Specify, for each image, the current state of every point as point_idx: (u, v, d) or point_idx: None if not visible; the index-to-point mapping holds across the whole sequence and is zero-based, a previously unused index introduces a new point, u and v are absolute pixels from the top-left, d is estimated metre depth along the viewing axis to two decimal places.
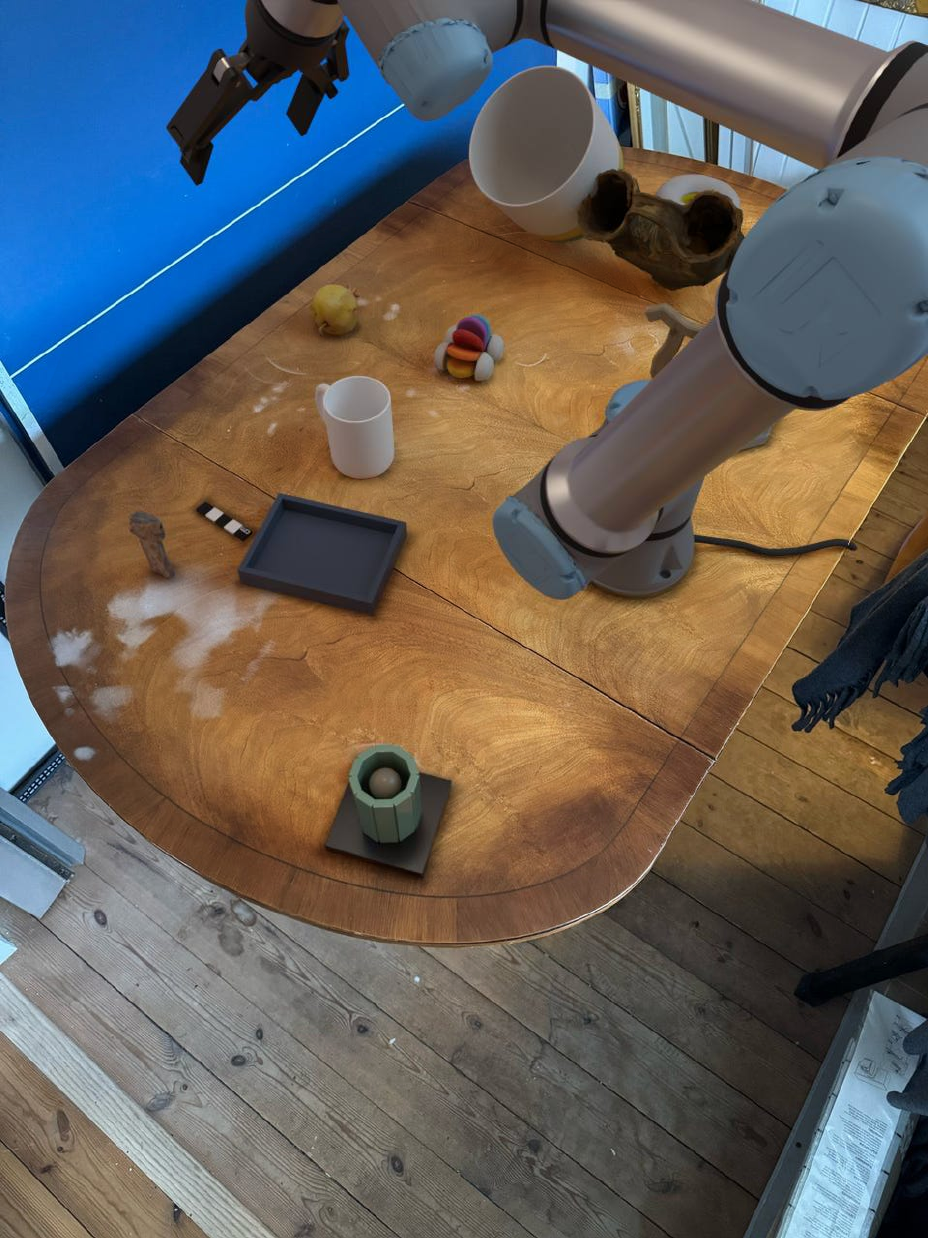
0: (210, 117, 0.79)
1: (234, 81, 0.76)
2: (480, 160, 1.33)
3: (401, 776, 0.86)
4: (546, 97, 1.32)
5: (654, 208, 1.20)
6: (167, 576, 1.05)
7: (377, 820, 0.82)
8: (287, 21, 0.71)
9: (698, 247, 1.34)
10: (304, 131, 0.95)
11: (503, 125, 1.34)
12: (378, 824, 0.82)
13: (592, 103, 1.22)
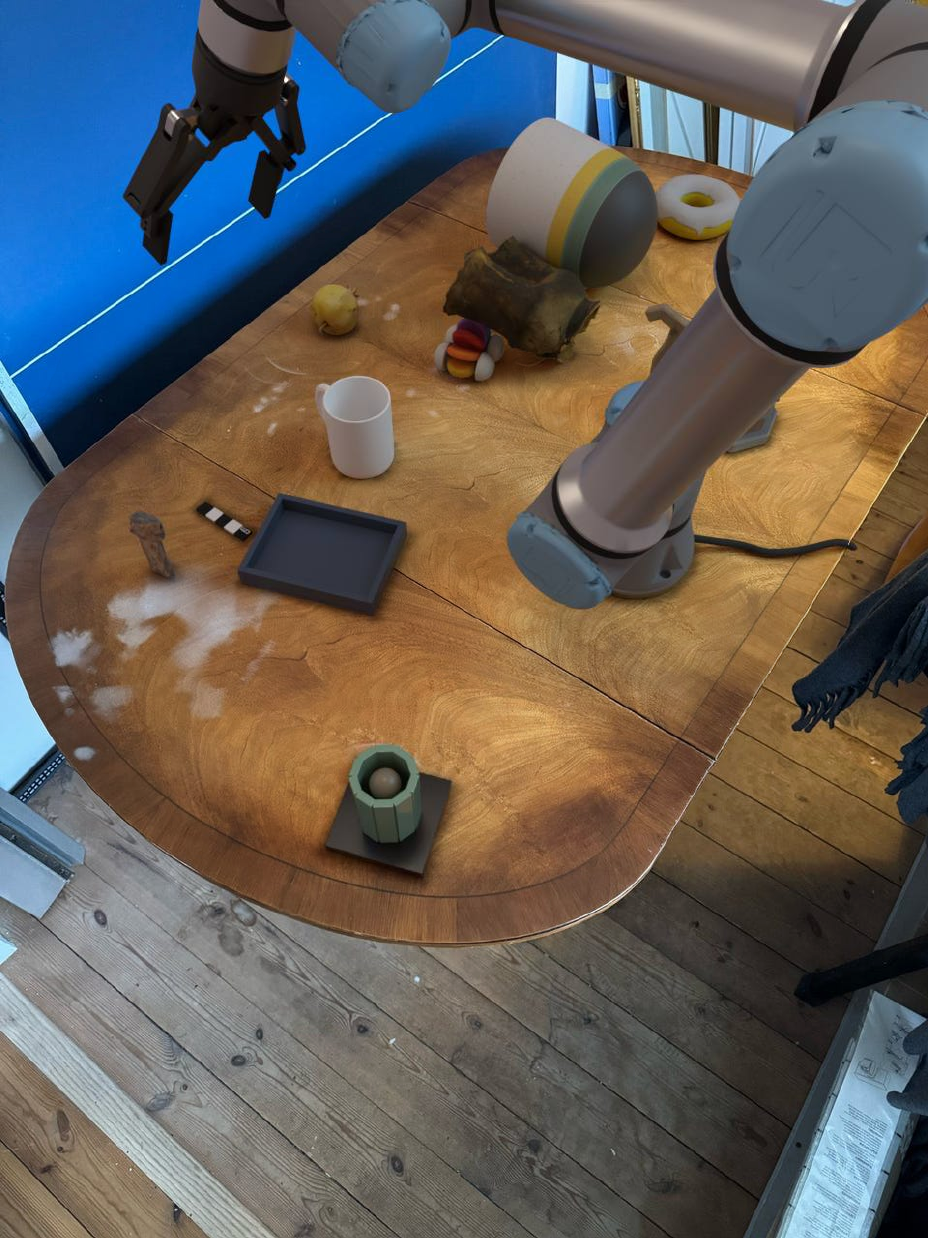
0: (165, 176, 0.78)
1: (186, 131, 0.75)
2: None
3: (401, 776, 0.86)
4: None
5: None
6: (167, 576, 1.05)
7: (377, 820, 0.82)
8: (232, 57, 0.71)
9: None
10: (267, 213, 0.94)
11: None
12: (378, 824, 0.82)
13: (501, 163, 1.27)
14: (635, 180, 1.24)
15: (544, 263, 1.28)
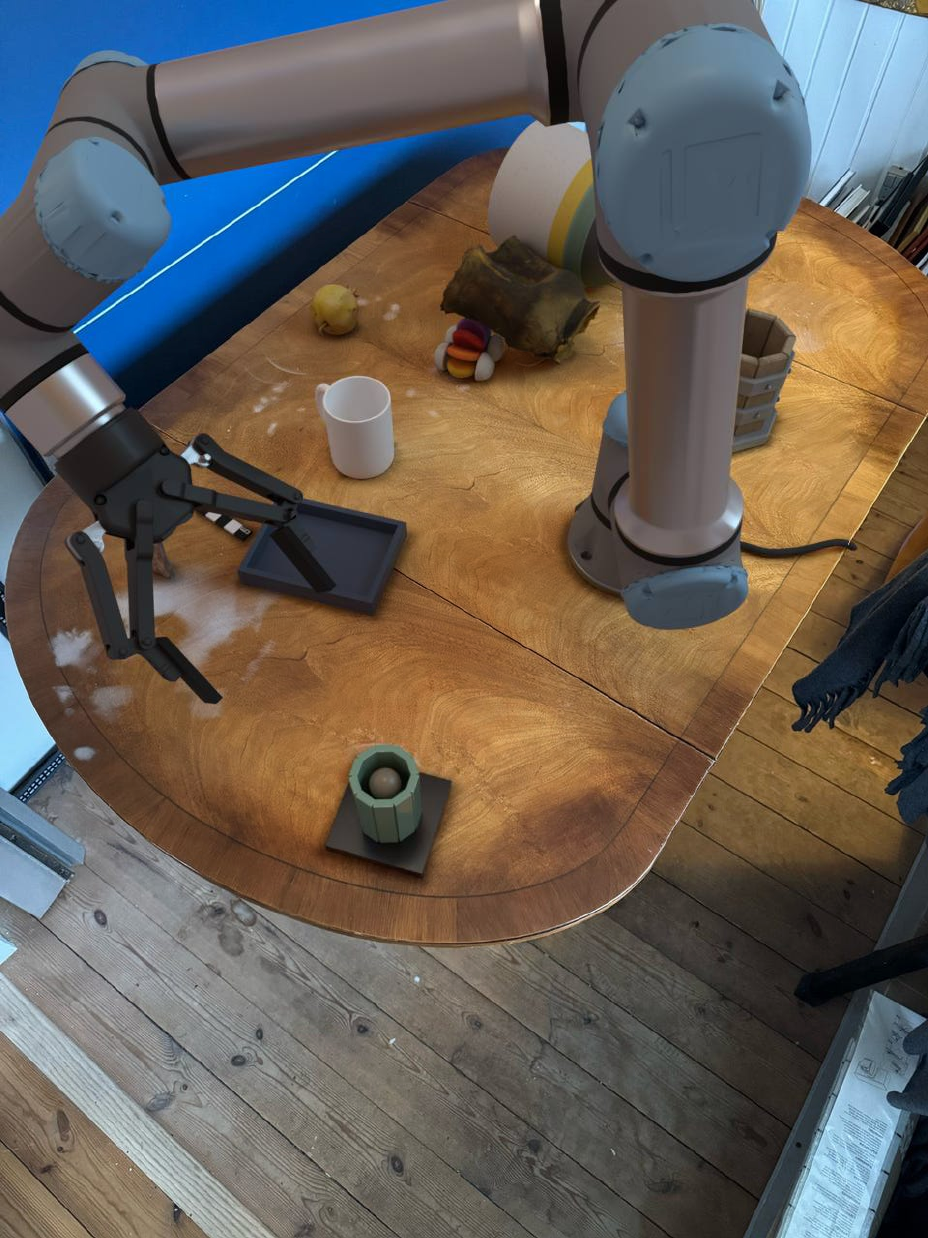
0: (106, 599, 0.65)
1: (79, 539, 0.64)
2: None
3: (401, 776, 0.86)
4: None
5: None
6: (167, 576, 1.05)
7: (377, 820, 0.82)
8: (48, 436, 0.63)
9: None
10: (326, 582, 0.76)
11: None
12: (378, 824, 0.82)
13: (504, 159, 1.27)
14: None
15: (545, 263, 1.28)
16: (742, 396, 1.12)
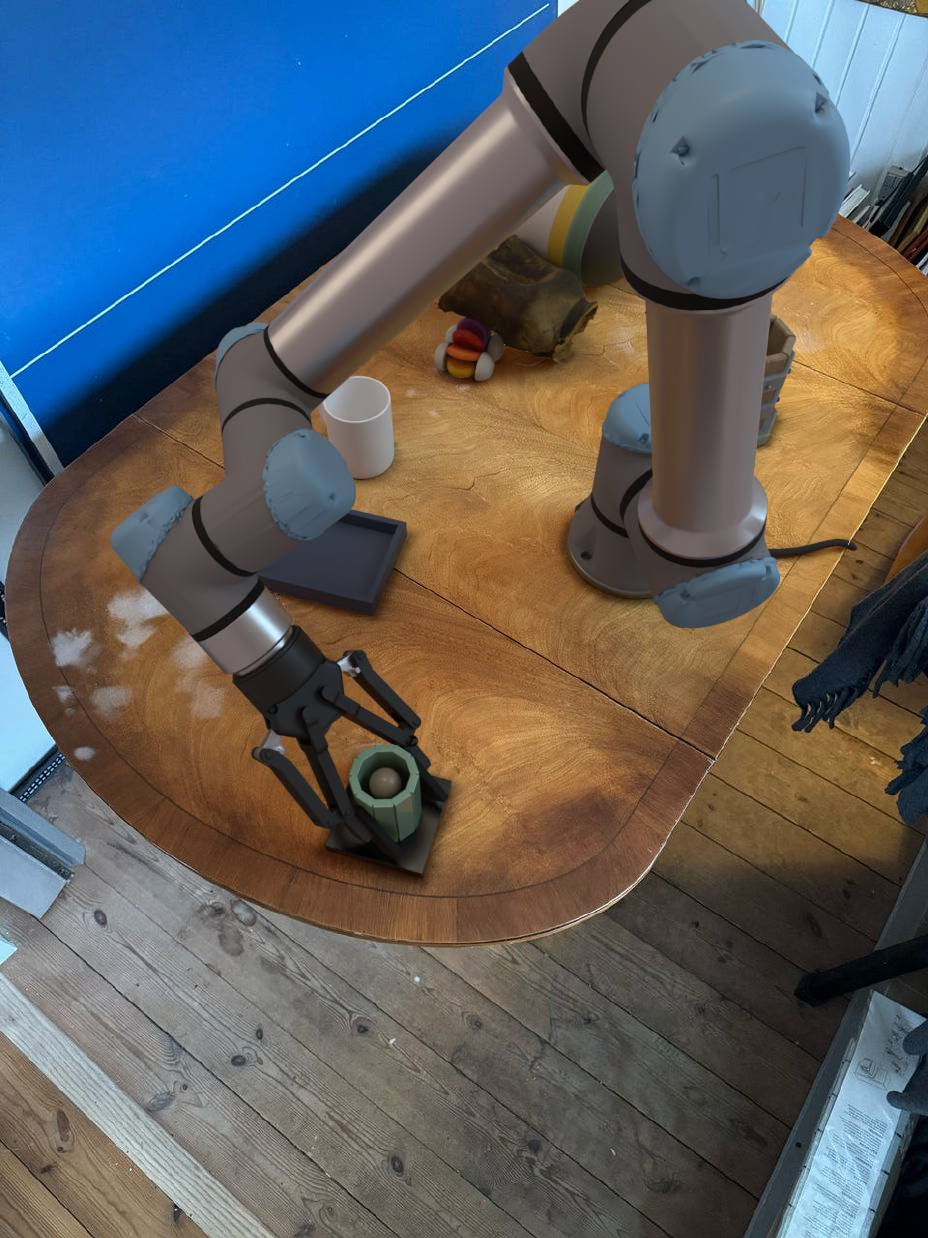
0: (304, 790, 0.77)
1: (268, 756, 0.76)
2: None
3: (401, 776, 0.86)
4: None
5: None
6: None
7: (377, 820, 0.82)
8: (235, 664, 0.74)
9: None
10: (441, 795, 0.86)
11: None
12: None
13: None
14: None
15: (545, 262, 1.28)
16: None
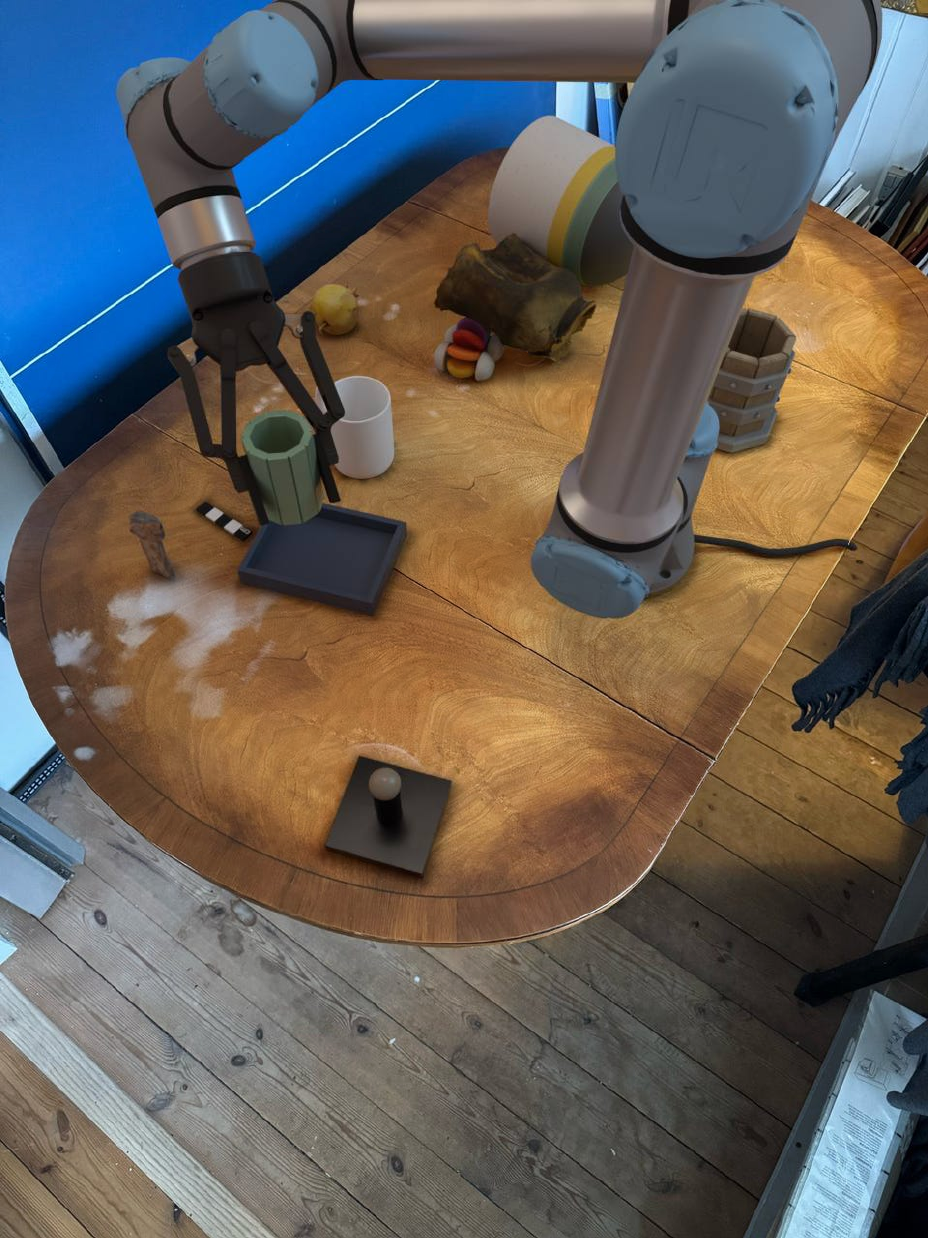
0: (194, 404, 0.79)
1: (173, 353, 0.77)
2: None
3: None
4: None
5: None
6: (167, 576, 1.05)
7: (256, 477, 0.81)
8: (175, 249, 0.76)
9: None
10: (332, 494, 0.83)
11: None
12: (258, 484, 0.82)
13: (505, 156, 1.27)
14: None
15: (543, 261, 1.28)
16: (742, 396, 1.12)
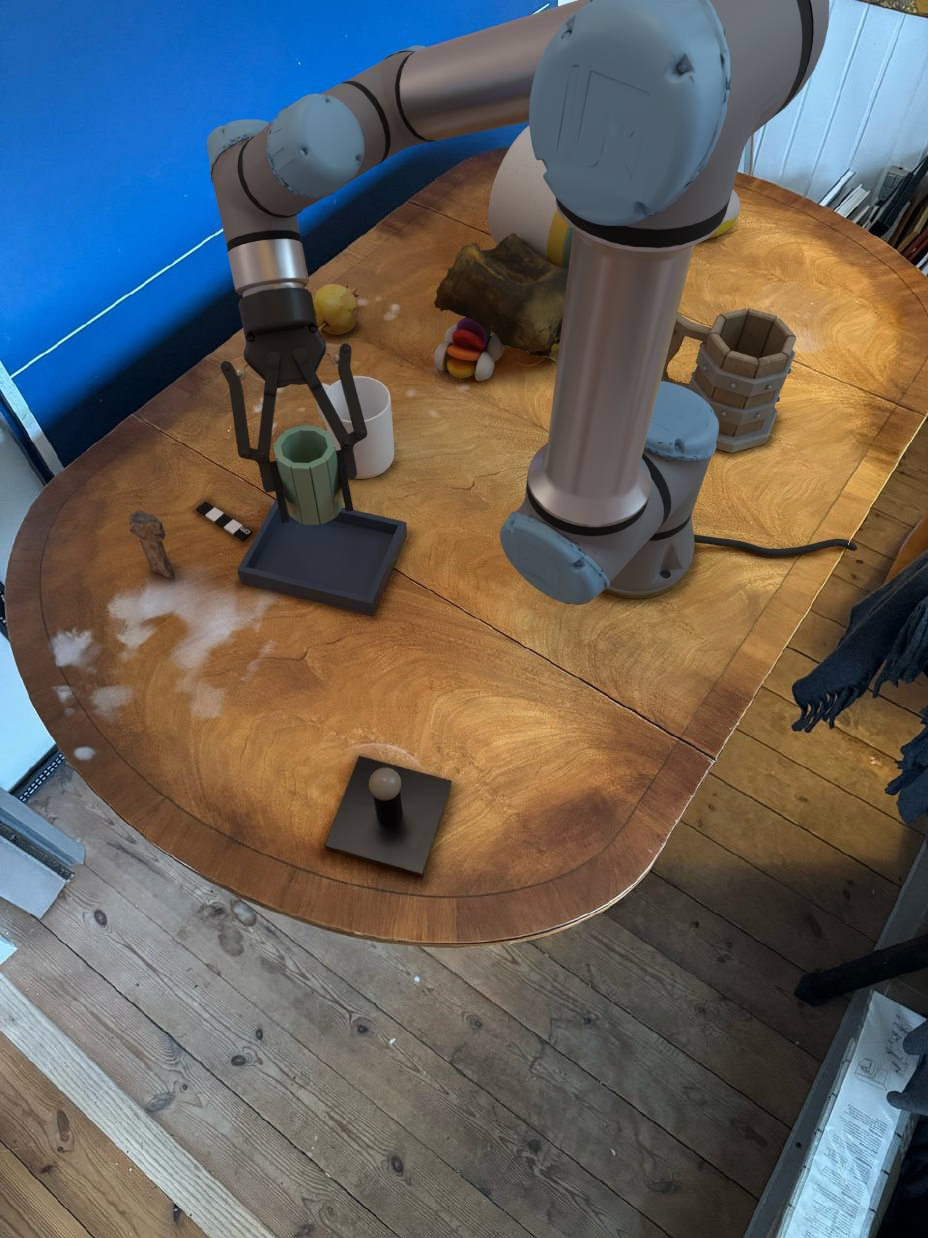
0: (238, 413, 0.91)
1: (225, 367, 0.90)
2: None
3: None
4: None
5: None
6: (167, 576, 1.05)
7: (282, 480, 0.94)
8: (238, 280, 0.88)
9: None
10: (347, 504, 0.95)
11: None
12: (284, 487, 0.94)
13: (505, 156, 1.27)
14: None
15: (543, 261, 1.28)
16: (742, 396, 1.12)
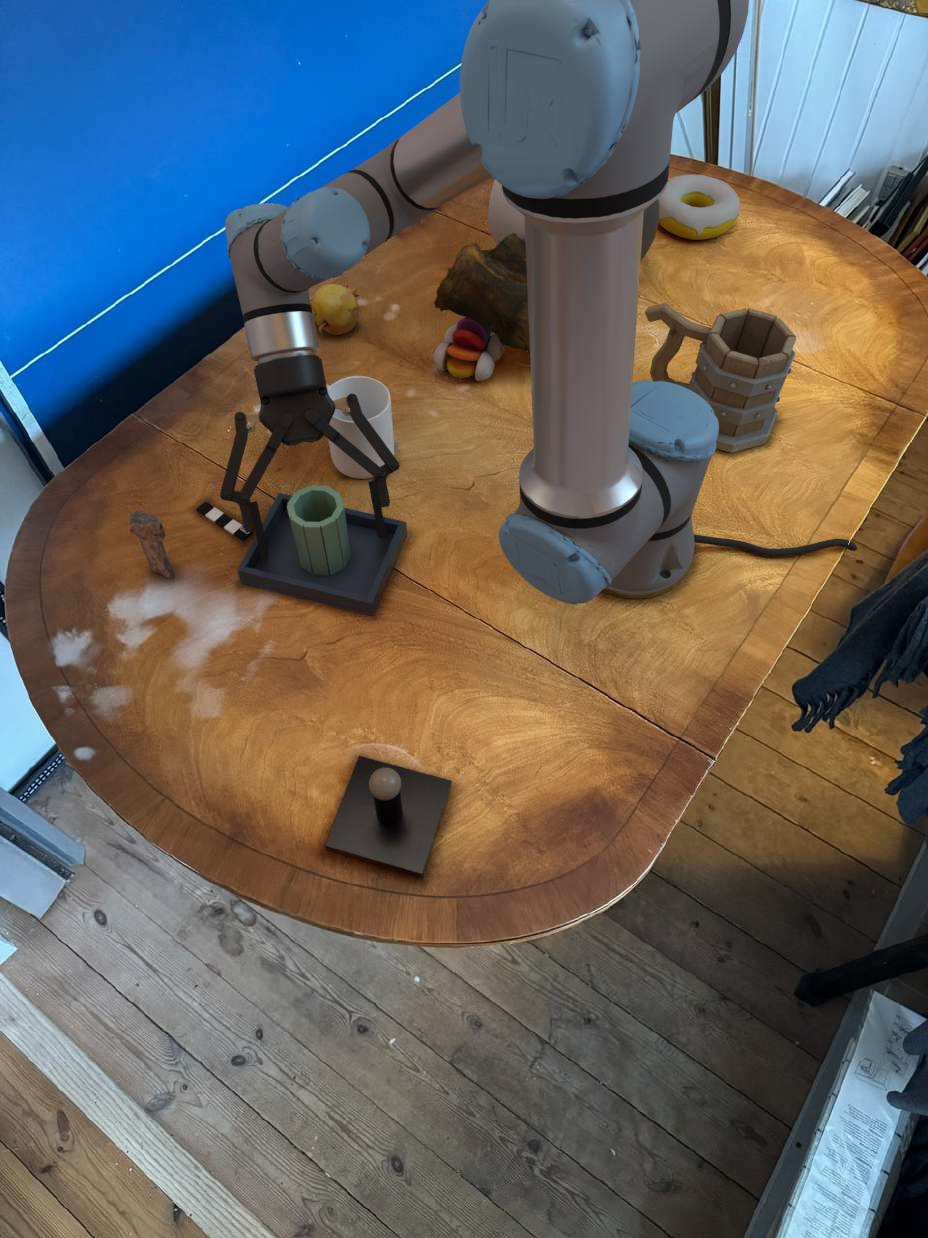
0: (234, 459, 0.98)
1: (238, 417, 0.97)
2: None
3: None
4: None
5: None
6: (167, 576, 1.05)
7: (295, 536, 1.01)
8: (254, 349, 0.96)
9: None
10: (380, 531, 1.02)
11: None
12: (296, 542, 1.02)
13: None
14: None
15: None
16: (742, 396, 1.12)
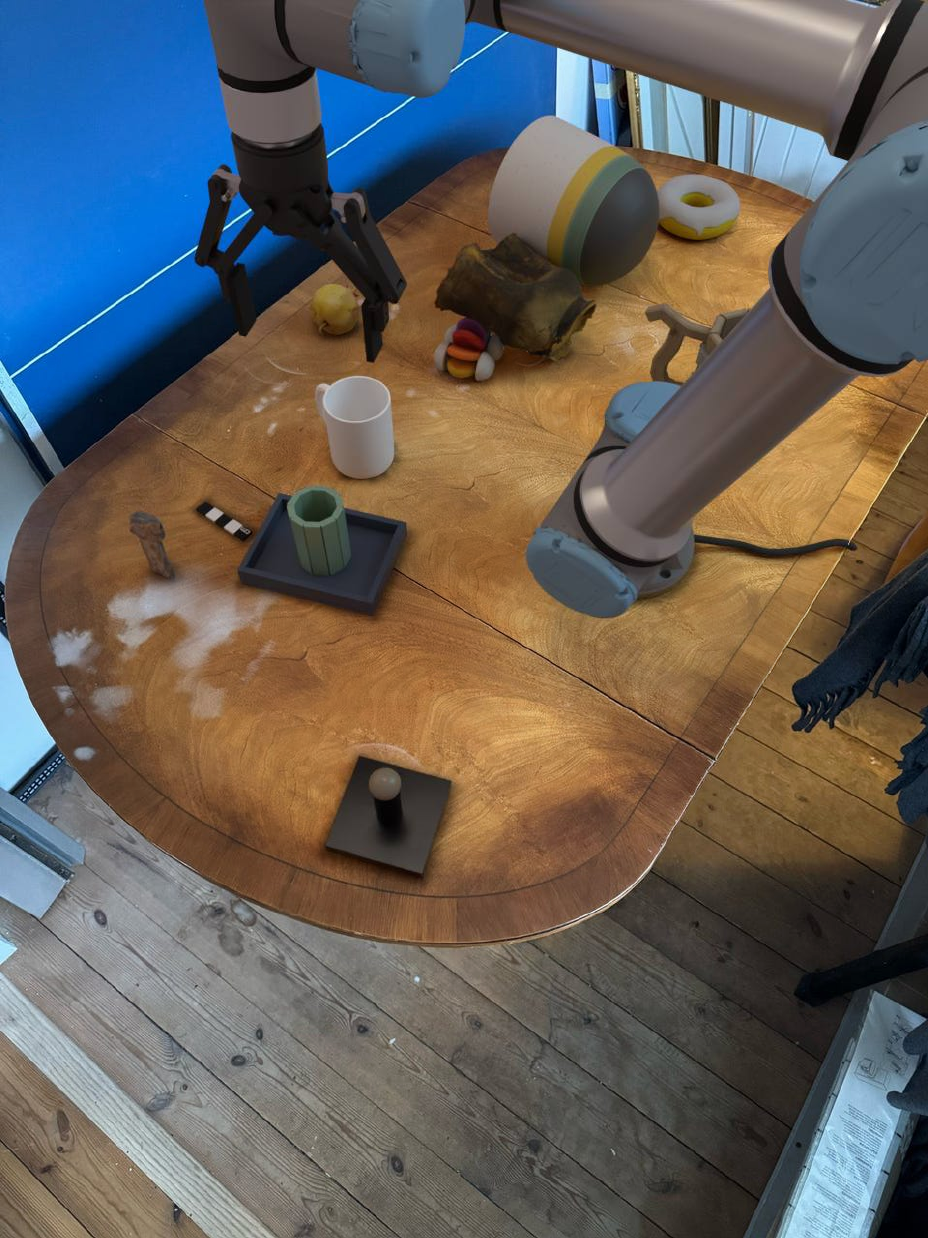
0: (208, 229, 0.81)
1: (211, 185, 0.77)
2: None
3: None
4: None
5: None
6: (167, 576, 1.05)
7: (295, 536, 1.01)
8: (226, 115, 0.70)
9: None
10: (367, 355, 0.87)
11: None
12: (296, 542, 1.02)
13: (505, 156, 1.27)
14: (638, 176, 1.24)
15: (543, 261, 1.28)
16: None
